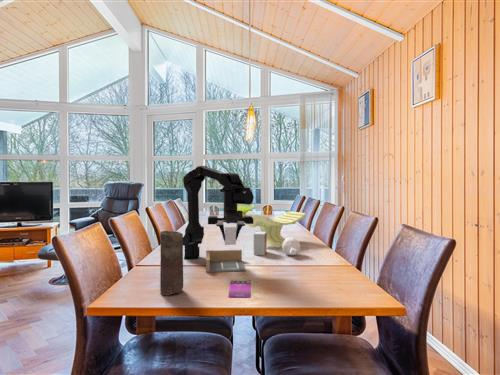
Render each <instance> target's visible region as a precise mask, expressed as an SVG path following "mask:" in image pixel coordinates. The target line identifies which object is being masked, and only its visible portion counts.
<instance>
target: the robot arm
mask: <svg viewBox="0 0 500 375" xmlns="http://www.w3.org/2000/svg"><path fill="white" fill-rule="evenodd" d="M206 177H207V178H208V179H212V180H214V181H217V182H218V184H220V185H221V186H223V187H222V188H221V189H220V190H219V192H220V193H223V217H218V215H209V216H207V225H215V226H216V227H219V230H220V232H221V235H222V239H223V242H224V241H225V227H224V226H225V225H224V223H225V224H236V226H235V227H236V242H237V241H238V237H239V234H240V232H241V230H242V228H243V227H245V226H246V225H249V224H253V217H251V216H250V215H243V214H244V213H243V210H238V205H246V206H250V205H251V204H253V202H254V193H253V191H251V187H245V186H244V184H243V182H242V180H241V178H240V175H239V173H236V172H235V173H234V172H224V171H220V170H217V169H215V168H211V167H209V166H207V165H198V166H196V167H195V168H194V169H192V170H190V171H189V172H187V173H186V174H185V175H184V176H183V178H182V182H183V188H184V190H185V191H186V193H187V217H188V218H187V219H188V223H187V226H186V228H185V231H184V235H183V247H184V255H183V260H192V259H193V260H195V259H196V260H197V259H199V257H200V252H201V251H200V246H199V245H201V244H203V243H202V242H203V239H204V236H205V232H204V231H205V229H204V228H205V227H204V226H203V225H201V223H200V209H199V208H200V205H199V202H200V201H199V192H200V190H201V188H202V183H203V182H204V181H205V180H206Z"/></svg>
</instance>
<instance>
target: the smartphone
mask: <svg viewBox="0 0 500 375" xmlns="http://www.w3.org/2000/svg"><path fill="white" fill-rule="evenodd" d="M251 282H252V281H251V279H250V280H249V279H231V280H230V283H229V288H228V289H229V290H228V298H230V299H231V298H235V299H236V298H238V299H239V298H240V299H241V298H242V299H244V298H245V299H250V298H252V288H251V286H252V284H251Z"/></svg>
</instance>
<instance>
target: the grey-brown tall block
mask: <svg viewBox="0 0 500 375" xmlns="http://www.w3.org/2000/svg"><path fill="white" fill-rule="evenodd" d="M183 237H184V235H183V233H181V232H180V231H174V230H173V231H172V230H171V231H170V230H162V231H160V246H159V247H160V261H159V262H160V263H159V264H160V265H159V266H160V274H159V278H160V279H159V280H160V281H159V282H160V283H159V284H160V286H159V287H160V294H161V295H162V296H171V295H172V294H173V295H174V294H178V293H180V292H181V291H182V290H183V289H184V246H183Z"/></svg>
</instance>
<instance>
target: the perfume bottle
mask: <svg viewBox="0 0 500 375" xmlns="http://www.w3.org/2000/svg"><path fill="white" fill-rule="evenodd" d="M284 239H285V240H284V241H283V244H282V247H281V248H282V250H283V252H284V253H285V254H286V255H288V256H290V257H292V256H295V255H297V254H298V252H299V251H300V248H301V244H300V242H299V240H298V239H297V238H295V237H292V236H290V237H287V238H284Z"/></svg>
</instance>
